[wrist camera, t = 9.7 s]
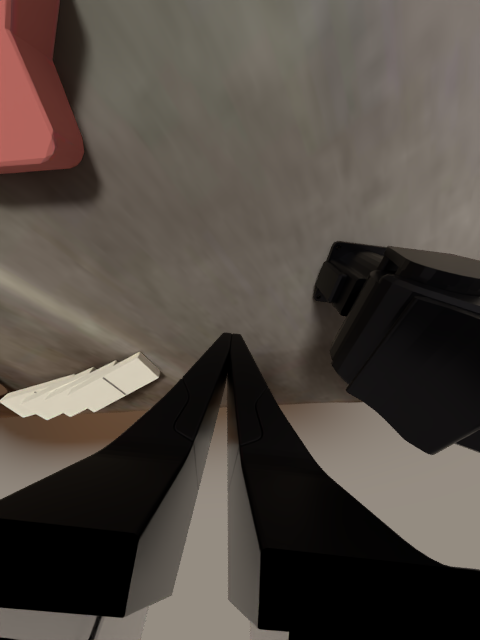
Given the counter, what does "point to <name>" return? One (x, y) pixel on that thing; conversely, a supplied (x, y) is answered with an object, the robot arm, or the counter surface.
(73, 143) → the plaque
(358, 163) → the counter surface
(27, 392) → the domino
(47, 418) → the domino
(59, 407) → the domino
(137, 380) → the domino
